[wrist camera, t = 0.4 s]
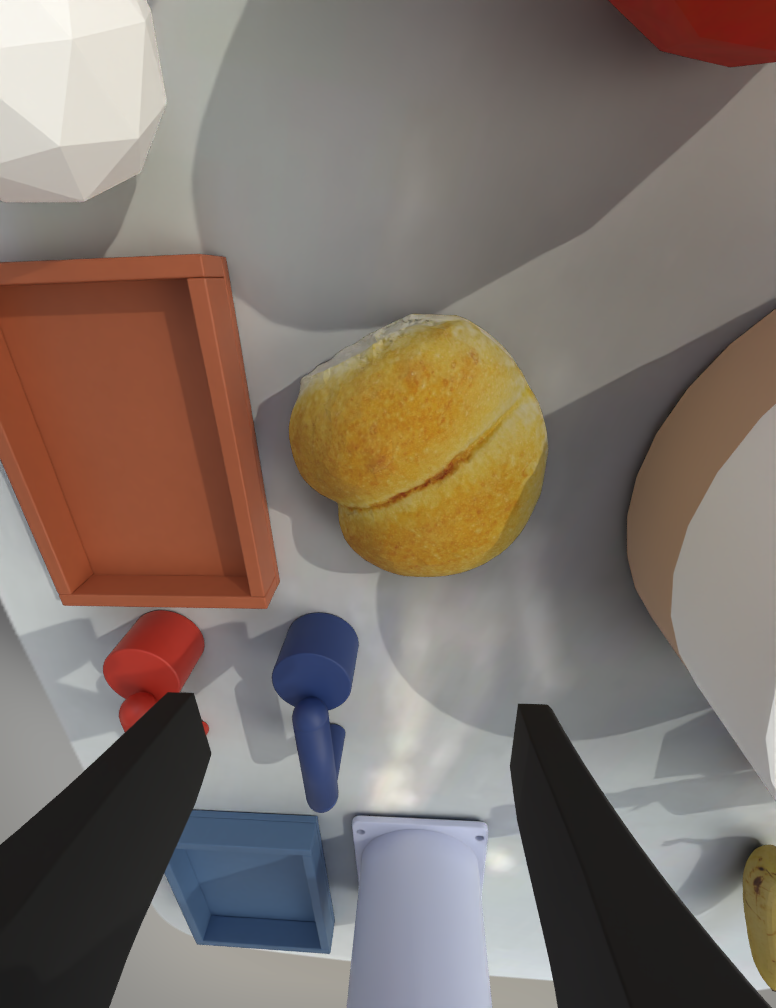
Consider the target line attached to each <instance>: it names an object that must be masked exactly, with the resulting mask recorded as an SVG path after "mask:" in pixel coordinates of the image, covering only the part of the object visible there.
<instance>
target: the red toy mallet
mask: <svg viewBox="0 0 776 1008" xmlns="http://www.w3.org/2000/svg"><path fill="white" fill-rule="evenodd" d="M203 651H204V638H203V635H202V633H201V631H200V630H199V629H198V627H197V626H196V625H195V624H194V623H193V622H192V621H190V620H189V619H187V618H186V617H184V616H182V615H180V614H177V613H175V612H171V611H164V610H157V611H152V612H149V613H146V614H144V615H143V616H141V617H140V618H139V619H138V621H137V622H136V623H135V624H134V625H133V627H132V628H131V629H130V630H129V631H128V633H127V634H126V635H125V636H124V637H123V638H122V640H121V641H120V642H119V643H118V644H117V646H116V647H115V648H114V649H113V650H112V652H111V653H110V654H109V655H108V657H107V658H106V659H105V662H104V665H103V674H104V677H105V679H106V681H107V683H108V684H109V686H110V687H111V688H112V689H113V690H114V691H115V692H116V693H118V694H119V695H120V696H122V697H123V698H125V699H126V700H125V701H124V702H123V703H122V705H121V707H120V710H119V719H120V722H121V725H122V727H123V729H124V732H126V731H127V730H128V729H129V728H130V727H131V726H132V725H134V724H135V723H136V722H137V721H138V720H139V719H140V718H141V717H142V716H143V715H144V714H145V713H146V712H147V711H148V710H149V709H150V708H151V707H152V706H153V705H155V704H156V703H157V702H158V701H159V700H160V699H161V698H162V697H163V696H164V695H165V694H166V693H167V692H178V693H179V692H180V691H181V689H182V687H183V686H184V684H185V682H186V680H187V679H188V677H189V675H190V674H191V672H192V670H193V669H194V667H195V665H196V663H197V662H198V660H199V658H200V657H201V655H202V653H203ZM202 723H203V727H204V730H205V733H206V735H207V733H208V731H209V727H208V725H207V724H206V723H205V722H203V721H202Z"/></svg>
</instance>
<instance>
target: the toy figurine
mask: <svg viewBox="0 0 776 1008" xmlns="http://www.w3.org/2000/svg"><path fill="white" fill-rule="evenodd" d="M166 104H167V100H166V94H165V88H164V82H163V77H162V71H161V65H160V60H159V54H158V48H157V42H156V37H155V31H154V25H153V20H152V14H151V9H150V7H149V5H148V3H147V1H146V0H0V200H1V201H3V202H85V201H87V200H89V199H91V198H93V197H94V196H96V195H98V194H100V193H102V192H104V191H106V190H108V189H110V188H112V187H114V186H116V185H118V184H120V183H122V182H124V181H126V180H127V179H129V178H131V177H133V176H135V175H137V174H139V173H141V171H142V168H143V165H144V163H145V160H146V157H147V155H148V152H149V149H150V147H151V144H152V142H153V139H154V136H155V134H156V131H157V128H158V126H159V123H160V120H161V118H162V115H163V112H164V110H165V107H166Z"/></svg>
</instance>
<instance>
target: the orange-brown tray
mask: <svg viewBox="0 0 776 1008" xmlns="http://www.w3.org/2000/svg"><path fill="white" fill-rule="evenodd" d="M0 459H1V462H2V464H3V466H4V469H5V471H6V473H7V476H8V478H9V480H10V483H11V485H12V487H13V490H14V492H15V494H16V497H17V499H18V501H19V504H20V506H21V508H22V511H23V513H24V515H25V518H26V520H27V522H28V525H29V527H30V529H31V532H32V534H33V536H34V539H35V541H36V543H37V546H38V548H39V550H40V553H41V555H42V557H43V559H44V562H45V564H46V566H47V569H48V571H49V573H50V576H51V578H52V580H53V583H54V585H55V587H56V590H57V592H58V594H59V597H60V599H61V601H62V604H63V605H64V606H124V607H187V608H251V609H266V608H267V607H268V605H269V603H270V601H271V599H272V597H273V595H274V593H275V590H276V588H277V586H278V585H279V582H280V580H279V574H278V568H277V562H276V556H275V550H274V544H273V538H272V532H271V526H270V520H269V514H268V508H267V502H266V496H265V490H264V484H263V478H262V472H261V466H260V460H259V454H258V448H257V441H256V435H255V429H254V423H253V417H252V411H251V405H250V399H249V393H248V387H247V381H246V375H245V369H244V363H243V357H242V351H241V345H240V339H239V333H238V327H237V321H236V315H235V309H234V303H233V297H232V291H231V285H230V279H229V273H228V267H227V261H226V257H222V256H213V255H205V254H186V255H162V256H139V257H116V258H93V259H69V260H46V261H23V262H0Z"/></svg>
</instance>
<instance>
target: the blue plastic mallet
mask: <svg viewBox="0 0 776 1008" xmlns="http://www.w3.org/2000/svg"><path fill="white" fill-rule="evenodd" d="M358 646H359V642H358V637H357V635H356V633H355V631H354V629H353V628H352V627H351V626H350V625H349V624H348V623H347V622H346V621H344V620H343V619H341V618H339V617H337V616H335V615H331V614H327V613H310V614H307V615H304V616H302V617H300V618H298V619H297V620H296V621H294V622H293V623H292V625H291V626H290V628H289V630H288V633H287V635H286V638H285V640H284V643H283V646H282V648H281V651H280V654H279V656H278V659H277V661H276V664H275V667H274V669H273V673H272V683H273V686H274V689H275V691H276V692H277V694H278V695H279V696H280V697H281V698H282V699H283V700H284V701H286V702H287V703H289V704H290V705H292V706H294V707H295V708H294V711H293V715H292V722H293V728H294V733H295V739H296V744H297V750H298V755H299V761H300V766H301V772H302V777H303V783H304V788H305V794H306V799H307V803H308V805H309V807H310V808H311V809H312V810H314V811H315V812H319V813H324V812H327V811H329V810H330V809H332V808H333V806H334V805H335V804H336V801H337V799H338V784H337V780H338V775H339V769H340V763H341V757H342V751H343V745H344V739H345V730H344V729H343V728H342V727H341V726H339V725H336V724H330V722H329V714H328V710H331V709H334V708H336V707H338V706H340V705H341V704H342V703H344V702H345V701H346V699H347V698H348V696H349V695H350V692H351V687H352V681H353V676H354V670H355V664H356V658H357V652H358Z"/></svg>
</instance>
